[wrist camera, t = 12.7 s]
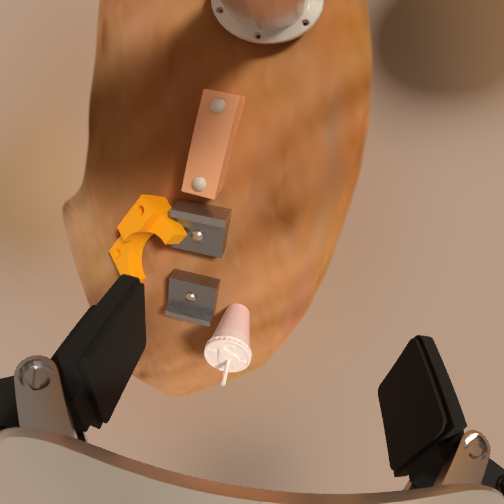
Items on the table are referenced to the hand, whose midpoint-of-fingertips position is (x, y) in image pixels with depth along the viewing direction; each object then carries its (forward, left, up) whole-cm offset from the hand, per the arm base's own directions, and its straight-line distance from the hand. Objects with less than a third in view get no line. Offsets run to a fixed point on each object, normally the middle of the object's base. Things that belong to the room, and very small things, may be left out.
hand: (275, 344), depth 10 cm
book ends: (+16, -9, -30) cm, 35 cm away
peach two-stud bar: (-1, -9, -31) cm, 32 cm away
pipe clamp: (+12, -19, -29) cm, 36 cm away
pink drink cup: (+24, -2, -31) cm, 39 cm away
